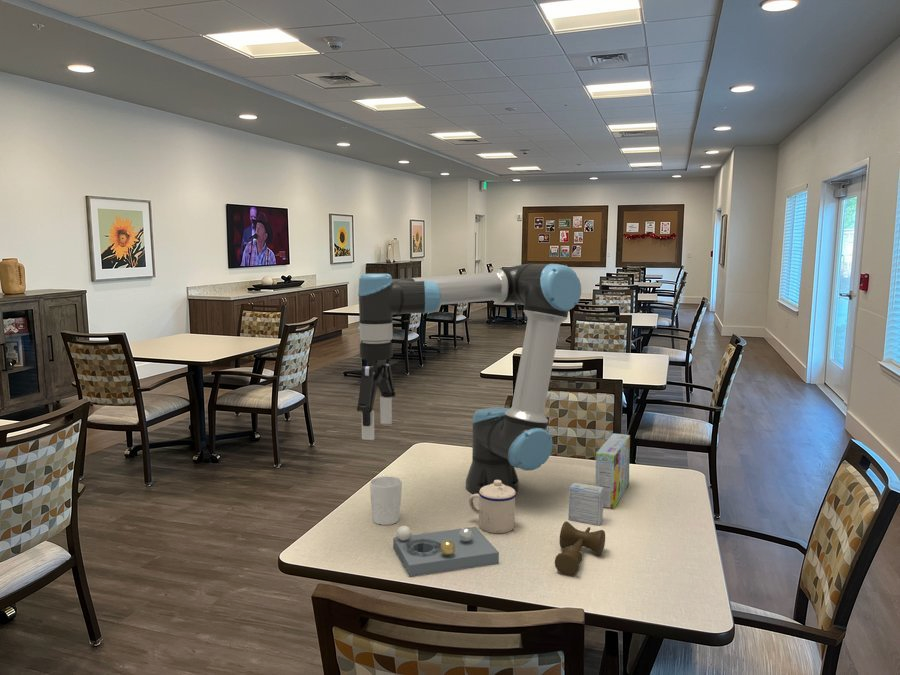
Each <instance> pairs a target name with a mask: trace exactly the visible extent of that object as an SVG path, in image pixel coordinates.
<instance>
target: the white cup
mask: <svg viewBox="0 0 900 675" xmlns="http://www.w3.org/2000/svg"><path fill="white" fill-rule="evenodd" d="M402 483H403V481H402V479H401V478H399V477H396V476H388V475H387V476H386V475H385V476H378V477H375V478H372V479H370V481H369V488H370V504H371V512H372V513H371V514H372V522H373V523H375V524H377V525H380V524H381V526H389V525H393V524H396V523H398V522H399V521H400V518H401V506H402V505H401V504H402V485H403V484H402Z"/></svg>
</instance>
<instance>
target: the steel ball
mask: <svg viewBox="0 0 900 675" xmlns="http://www.w3.org/2000/svg"><path fill="white" fill-rule="evenodd" d="M460 529H461V528H460ZM459 538H460V539H461V541H463V542H470V541H471V540H472V538H473V532H472V530H471V529H470V528H469V527H468V526H467V527H462V529H461V530H460V532H459Z"/></svg>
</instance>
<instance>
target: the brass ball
mask: <svg viewBox="0 0 900 675" xmlns="http://www.w3.org/2000/svg"><path fill="white" fill-rule="evenodd" d="M440 550H441V553H442V554H443V555H445V556H450V555H452V554H453V553H454V551H455V545H454V543H453V542H452V541H450V540H446V541H444V542H442V544H441V546H440Z"/></svg>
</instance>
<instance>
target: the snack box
mask: <svg viewBox="0 0 900 675" xmlns="http://www.w3.org/2000/svg"><path fill="white" fill-rule="evenodd" d="M630 444H631V435H630V434H623V433H612V434H611V435H610V437H608V439H607V440H606V441H605V442H604V443H603V444H602V445H601V446H600V448H599V449H598V450H597V451H596V452H595V486H599V487H603V488H604V494H603V509H610V510H615V507H616V506H617V504H618V502H620V499H621V497H622V496H623V495H624V493H625V491H626V490H627V488H628V487H629V485H630V456H631V454H630V453H631V452H630V450H631V448H630V447H631V445H630Z"/></svg>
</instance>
